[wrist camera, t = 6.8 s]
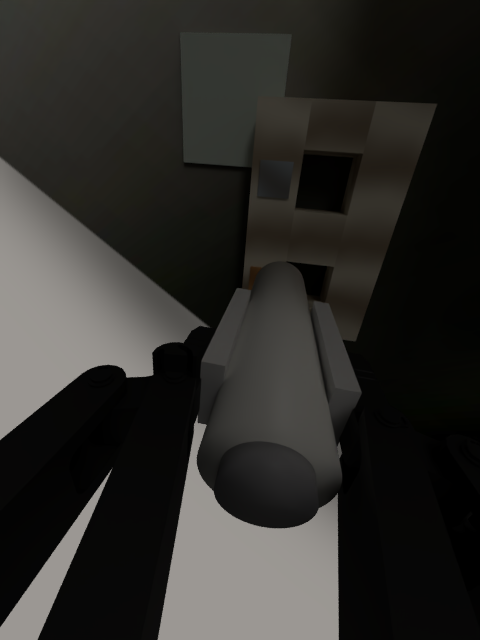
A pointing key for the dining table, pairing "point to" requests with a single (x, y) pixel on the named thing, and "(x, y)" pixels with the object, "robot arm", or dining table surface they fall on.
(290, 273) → the plug
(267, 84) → the pad
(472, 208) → the dining table surface
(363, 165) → the socket block
